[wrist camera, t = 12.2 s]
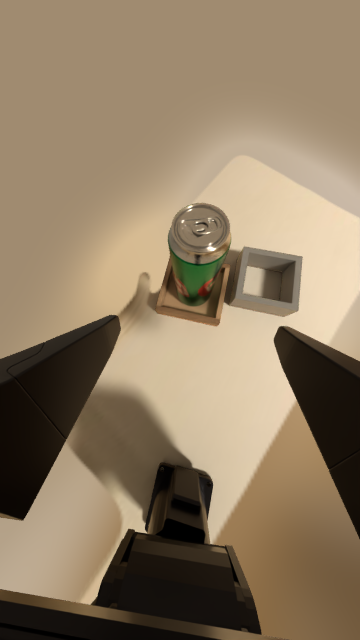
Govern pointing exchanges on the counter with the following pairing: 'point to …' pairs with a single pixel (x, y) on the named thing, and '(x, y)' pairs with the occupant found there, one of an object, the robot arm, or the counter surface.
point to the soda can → (198, 250)
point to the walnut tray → (202, 314)
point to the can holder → (268, 261)
